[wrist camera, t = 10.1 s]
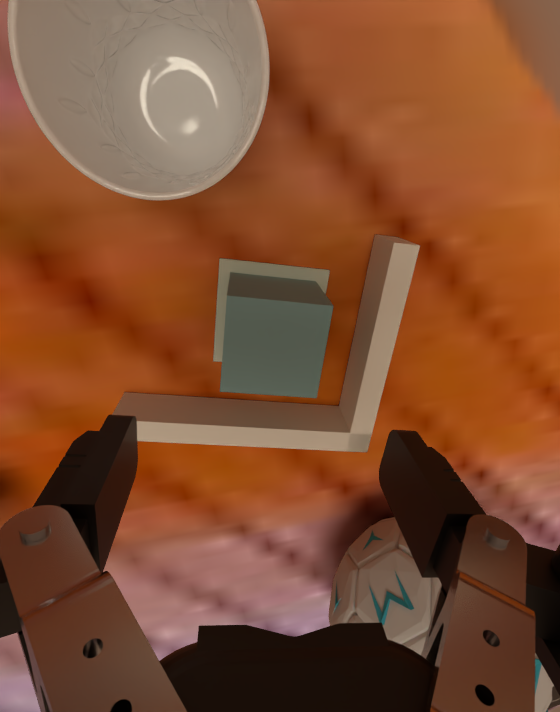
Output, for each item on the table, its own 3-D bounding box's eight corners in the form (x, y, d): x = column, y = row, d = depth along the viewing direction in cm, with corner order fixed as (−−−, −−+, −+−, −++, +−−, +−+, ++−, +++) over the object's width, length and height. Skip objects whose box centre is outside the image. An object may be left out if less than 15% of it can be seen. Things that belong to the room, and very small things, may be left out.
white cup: (161, 215, 23) (110, 239, 14) (78, 68, 20) (-56, -22, 11) (282, 153, 23) (308, 135, 14) (214, -11, 20) (189, -177, 10)
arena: (125, 410, 28) (110, 439, 25) (117, 203, 23) (97, 206, 20) (354, 423, 31) (367, 452, 27) (397, 236, 25) (420, 245, 22)
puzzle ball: (282, 561, 36) (305, 793, 23) (389, 445, 32) (499, 645, 18) (402, 612, 41) (483, 830, 27) (511, 516, 36) (673, 719, 23)
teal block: (303, 358, 28) (316, 398, 23) (224, 352, 27) (219, 391, 22) (315, 281, 26) (333, 306, 21) (230, 271, 25) (226, 295, 20)
